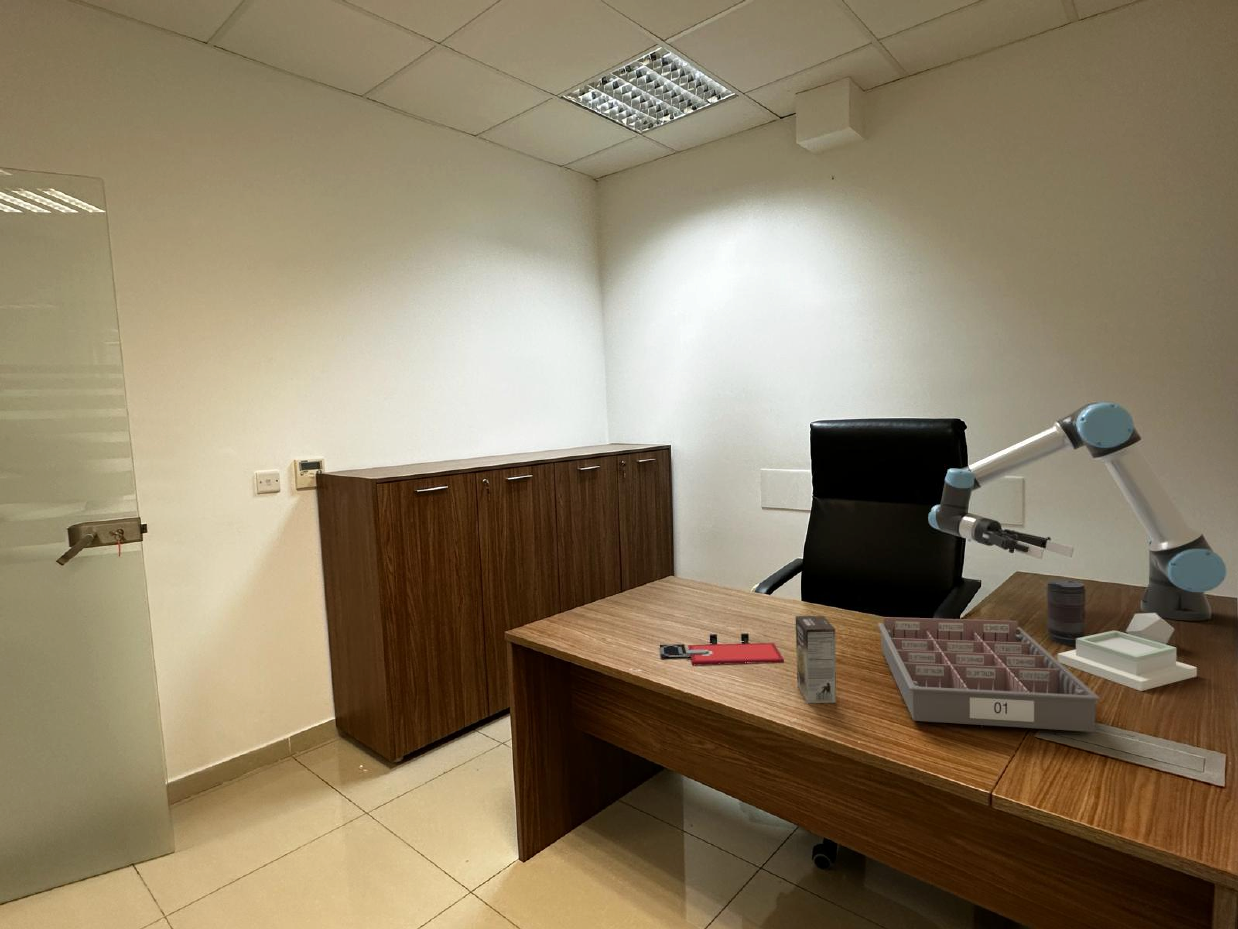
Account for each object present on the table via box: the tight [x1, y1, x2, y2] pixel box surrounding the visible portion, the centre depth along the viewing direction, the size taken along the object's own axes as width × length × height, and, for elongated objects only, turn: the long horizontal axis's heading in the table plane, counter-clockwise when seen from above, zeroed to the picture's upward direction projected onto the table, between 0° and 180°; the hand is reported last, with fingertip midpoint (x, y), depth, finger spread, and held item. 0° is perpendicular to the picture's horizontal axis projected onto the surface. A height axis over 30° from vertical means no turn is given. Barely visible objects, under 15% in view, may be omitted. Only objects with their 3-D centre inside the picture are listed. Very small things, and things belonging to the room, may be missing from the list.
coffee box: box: [795, 615, 837, 704], centre depth 141 cm, size 9×6×16 cm
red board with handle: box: [659, 632, 785, 665], centre depth 168 cm, size 30×3×15 cm
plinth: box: [1057, 630, 1198, 692], centre depth 147 cm, size 18×18×6 cm
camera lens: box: [1046, 579, 1087, 646], centre depth 166 cm, size 8×8×15 cm
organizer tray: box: [877, 616, 1102, 733], centre depth 140 cm, size 32×40×10 cm
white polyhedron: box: [1125, 612, 1175, 645], centre depth 161 cm, size 8×9×10 cm
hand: (1057, 553), depth 169 cm, fingers open, 13 cm apart
